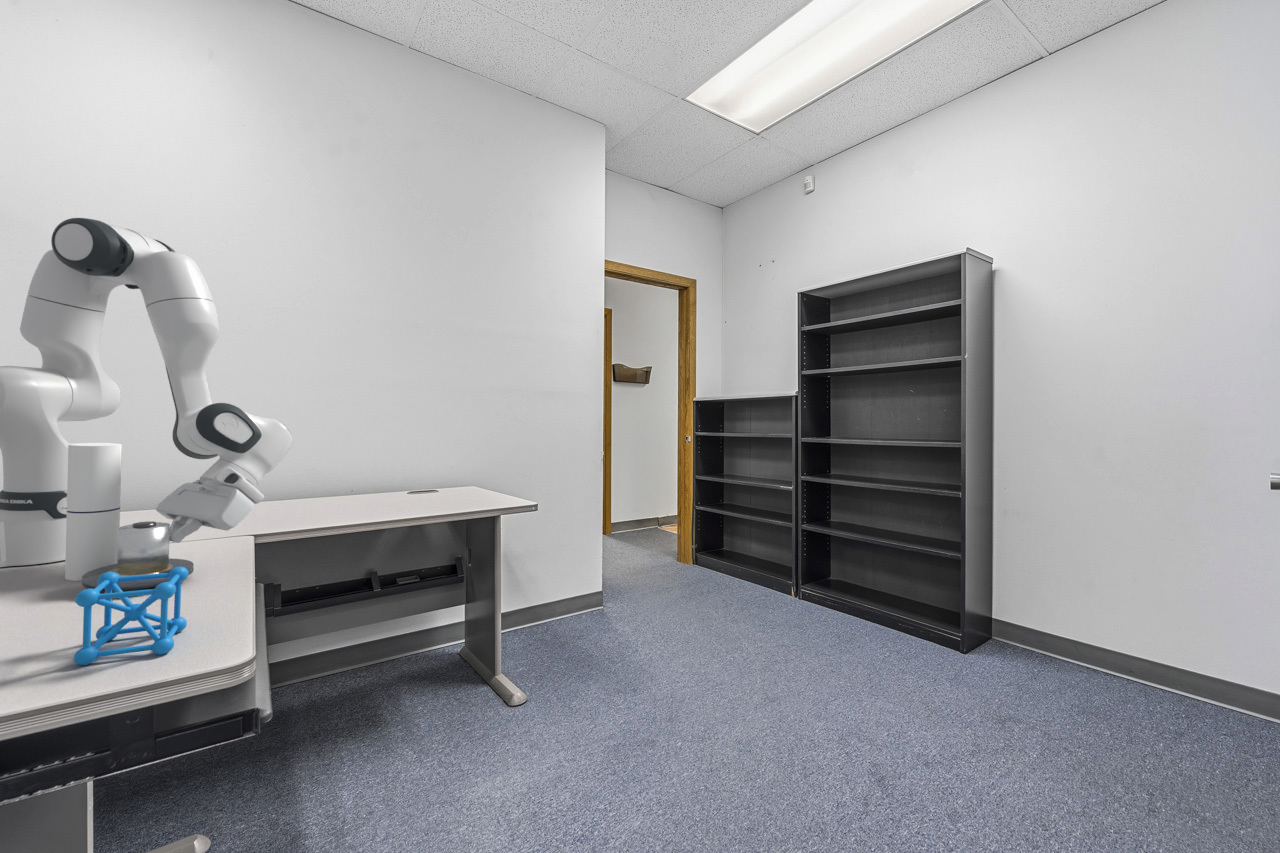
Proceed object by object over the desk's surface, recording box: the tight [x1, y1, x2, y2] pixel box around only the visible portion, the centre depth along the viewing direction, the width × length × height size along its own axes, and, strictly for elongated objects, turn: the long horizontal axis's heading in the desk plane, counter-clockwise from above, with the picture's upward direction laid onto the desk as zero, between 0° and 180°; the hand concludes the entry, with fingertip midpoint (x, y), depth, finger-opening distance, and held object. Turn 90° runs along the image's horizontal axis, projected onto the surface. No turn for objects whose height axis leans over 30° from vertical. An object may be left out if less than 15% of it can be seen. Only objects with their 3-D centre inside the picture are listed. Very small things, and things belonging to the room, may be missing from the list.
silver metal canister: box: [117, 521, 171, 575], centre depth 99 cm, size 7×7×9 cm
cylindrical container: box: [64, 442, 123, 582], centre depth 102 cm, size 7×7×25 cm
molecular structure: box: [72, 567, 189, 666], centre depth 75 cm, size 10×10×10 cm
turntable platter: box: [81, 558, 195, 591], centre depth 99 cm, size 15×15×1 cm
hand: (170, 540), depth 103 cm, fingers closed, pressing on silver metal canister
